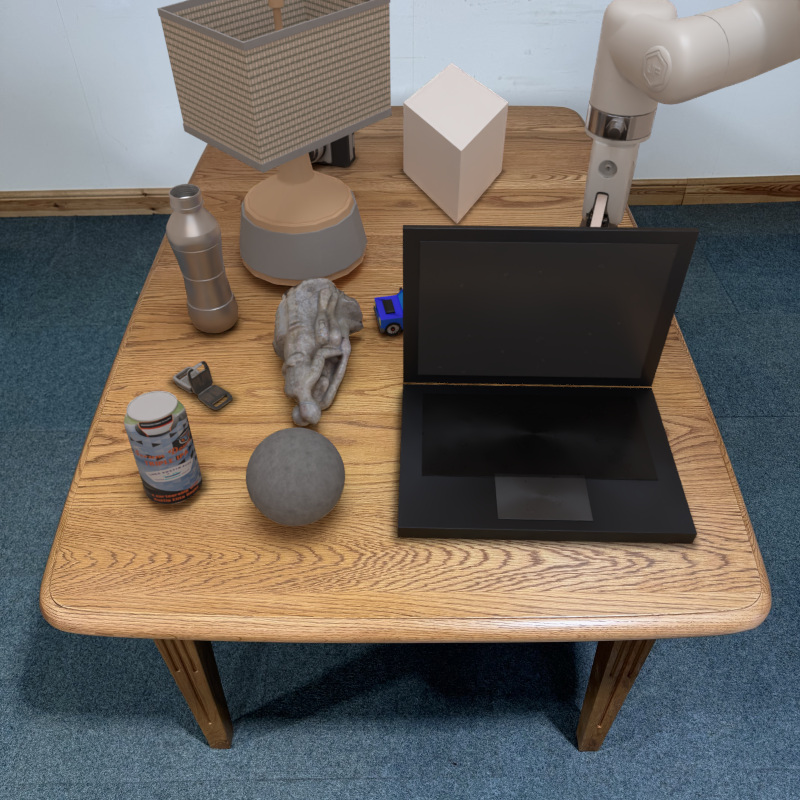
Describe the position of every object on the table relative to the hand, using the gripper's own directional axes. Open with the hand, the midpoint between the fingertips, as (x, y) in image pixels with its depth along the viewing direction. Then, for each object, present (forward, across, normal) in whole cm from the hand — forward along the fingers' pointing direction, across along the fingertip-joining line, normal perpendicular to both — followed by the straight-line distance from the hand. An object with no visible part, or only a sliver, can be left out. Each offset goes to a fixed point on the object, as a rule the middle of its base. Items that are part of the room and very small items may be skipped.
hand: (593, 253), depth 95 cm
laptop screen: (-4, -20, +4) cm, 21 cm away
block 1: (+8, +31, +28) cm, 43 cm away
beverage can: (+9, -47, +36) cm, 60 cm away
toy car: (+8, -11, +20) cm, 25 cm away
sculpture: (+9, -27, +28) cm, 40 cm away
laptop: (+9, -30, 0) cm, 32 cm away
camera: (+8, +26, +54) cm, 60 cm away
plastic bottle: (+8, -21, +46) cm, 52 cm away
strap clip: (+8, -33, +42) cm, 53 cm away
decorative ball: (+9, -45, +22) cm, 51 cm away
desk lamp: (+8, -3, +42) cm, 42 cm away
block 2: (0, 0, 0) cm, 0 cm away
